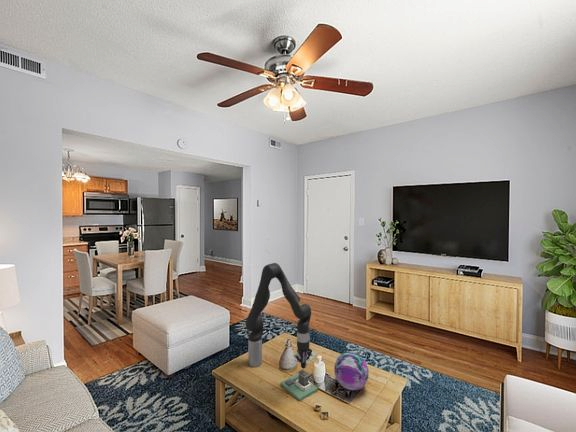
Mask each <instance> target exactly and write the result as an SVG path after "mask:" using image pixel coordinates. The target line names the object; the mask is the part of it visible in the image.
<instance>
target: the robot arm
mask: <svg viewBox="0 0 576 432" xmlns="http://www.w3.org/2000/svg"><path fill="white" fill-rule="evenodd" d="M273 279H277V280H278V282H279V283H280V286H281V291H282V295H283V296H284V298H285V299H286V301H287V302H288V303H289V305H290V307H291V310H292V313H293V315H294V316H295V317H296V318H297V319H299V321H298V322H297V323H296V348H297V350H296V354H294V355H293V357H294V358H295V359H297V360H298V361H299V362H298V363H300V367H301V368H302V369H303V370H304V369H306V367H307V364H306V361H307V360H308V359H309V357H310V355H311V353H312V352H313V350H312V349H311V348H310V341H311V340H310V322H311V316H312V308H311V306H310V305H309V304H308V303H304V304H300V303H299V302H300V301H301V297H300V296H299V295H298V293H297V292H296V291H295V289H294V288H293V286H292V285H291V284H290V282H289V280H288V278H287V276H286V274H285V272H284V270H283V269H282V267H281V266H280V264H278V263H277V262H273V263H268V264H266V265H264V266H263V268H262V270H261V276H260V280H259V285H258V288H257V291H256V293H255V297H254V299H253V302H252V306H251V308H250V311H249V312H248V316H247V318H246V320H245V327H246V329H247V331H248V332H250V333H249V334H248V349H247V351H248V352H247V355H248V357H247V358H248V359H247V360H248V366H249V367H252V368H257V367H261V365H263V334H264V319H263V316H262V315H261V314H262V312H263V311H264V310H265V309H266V307H267V306H268V304H269V301H270V297H271V291H270V284H271V282H272V280H273ZM307 355H308V357H307ZM299 357H300V358H299Z"/></svg>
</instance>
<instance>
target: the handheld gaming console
mask: <svg viewBox="0 0 576 432" xmlns="http://www.w3.org/2000/svg"><path fill="white" fill-rule="evenodd" d="M316 354H317V353H316V352H313V351H312V353H311V355H310V357H309V359H308V360H307V361H306V365H308V364H309V363H310V362H311V361H312V360H313V359H314V357H315V356H316ZM307 357H308V355H307ZM299 358H300V357H299ZM297 361H298V360H297ZM297 361H296V362H297ZM298 363H300V362H299V361H298Z"/></svg>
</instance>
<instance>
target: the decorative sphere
mask: <svg viewBox="0 0 576 432" xmlns="http://www.w3.org/2000/svg"><path fill="white" fill-rule="evenodd" d="M333 370H334V375H335V378H336V381H337V382H338V383H339V385H340V386H342V387H343V388H344V389H346V390H348V391H358V390H361V389H362V388H363V387H365V386H366V384H367V383H368V380H369V374H370V372H369V368H368V364H367V361H366V360H365V359H364V358H363V356H361V355H360V354H358V353H357V352H354V351H346V352H343V353H341V354H340V355H338V356H337V358H336V360H335V362H334V367H333Z"/></svg>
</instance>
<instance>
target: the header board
mask: <svg viewBox="0 0 576 432" xmlns="http://www.w3.org/2000/svg"><path fill="white" fill-rule="evenodd" d="M279 385H280V386H281V387H282V388H284V389H285V391H287V392H288V394H290V395H291V396H293V398H295V399H296V400H297V401H299V402H301V401H303V400H304V399H306V398H308V397H310V396H311V395H314V394H315V393H317V392H318V391H319V390H318V389H319V388H318V387H317V386H315V385H314V384H313V383H312V382H310V380H309V379H308V385H307V386H305V387H304V386H303V385H301V384H300V383H299V374H298V373H296V374H294V375H292V376H291V377H288V378H286V379H284V380H282V381H280V384H279Z"/></svg>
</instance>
